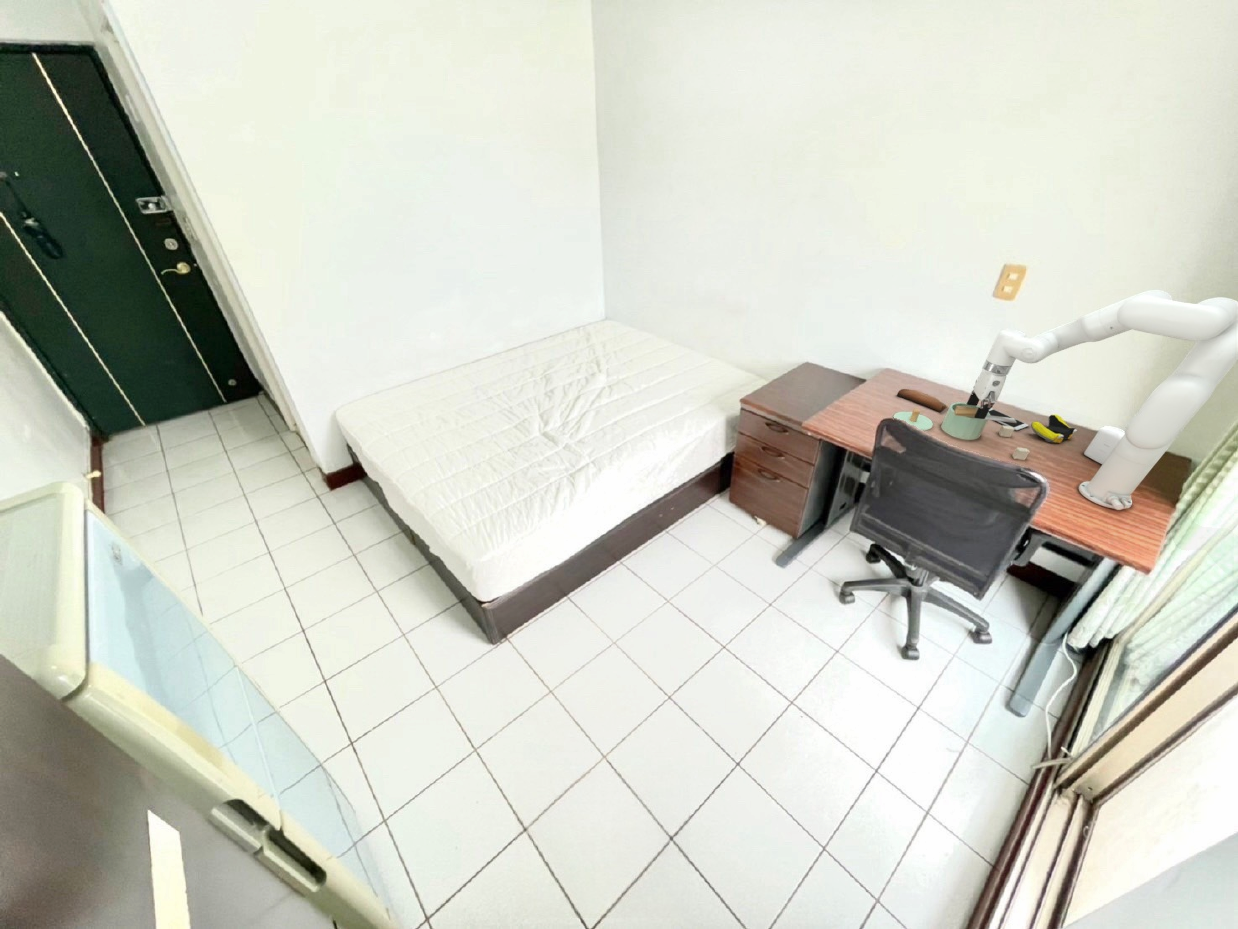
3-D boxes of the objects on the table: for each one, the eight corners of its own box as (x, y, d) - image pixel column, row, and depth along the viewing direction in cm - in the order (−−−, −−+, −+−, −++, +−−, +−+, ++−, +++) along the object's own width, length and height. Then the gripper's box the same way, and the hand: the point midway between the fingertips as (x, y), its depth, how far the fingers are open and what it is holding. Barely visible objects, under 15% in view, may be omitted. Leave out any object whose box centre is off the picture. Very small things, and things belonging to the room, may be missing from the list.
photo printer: (1080, 453, 169) (1100, 423, 162) (1089, 452, 170) (1110, 421, 163) (1110, 470, 161) (1133, 439, 154) (1120, 468, 162) (1144, 437, 155)
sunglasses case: (950, 406, 196) (951, 396, 191) (939, 419, 195) (940, 409, 190) (906, 390, 208) (906, 380, 203) (896, 402, 207) (896, 392, 202)
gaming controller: (1023, 434, 180) (1052, 447, 173) (1030, 421, 177) (1060, 434, 169) (1046, 424, 185) (1076, 437, 178) (1054, 412, 182) (1084, 424, 175)
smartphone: (990, 407, 194) (1029, 425, 183) (989, 408, 195) (1028, 426, 184) (978, 411, 192) (1017, 429, 181) (977, 413, 192) (1016, 431, 181)
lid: (935, 434, 180) (941, 421, 177) (895, 429, 183) (900, 416, 180) (927, 416, 191) (933, 404, 187) (890, 412, 194) (894, 399, 190)
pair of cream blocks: (1024, 460, 167) (1029, 451, 164) (1013, 458, 167) (1018, 450, 165) (1008, 434, 180) (1012, 426, 178) (998, 433, 180) (1002, 425, 178)
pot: (983, 443, 175) (994, 421, 170) (944, 437, 178) (954, 416, 173) (973, 425, 185) (984, 404, 180) (937, 421, 188) (946, 400, 183)
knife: (1016, 423, 169) (1020, 416, 167) (955, 415, 174) (958, 408, 172) (1013, 419, 171) (1017, 412, 170) (953, 411, 176) (956, 405, 174)
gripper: (1018, 379, 154) (994, 425, 164) (1001, 357, 168) (980, 401, 178) (992, 376, 156) (970, 422, 166) (976, 355, 170) (957, 398, 180)
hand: (975, 411), depth 172 cm, fingers open, 9 cm apart
